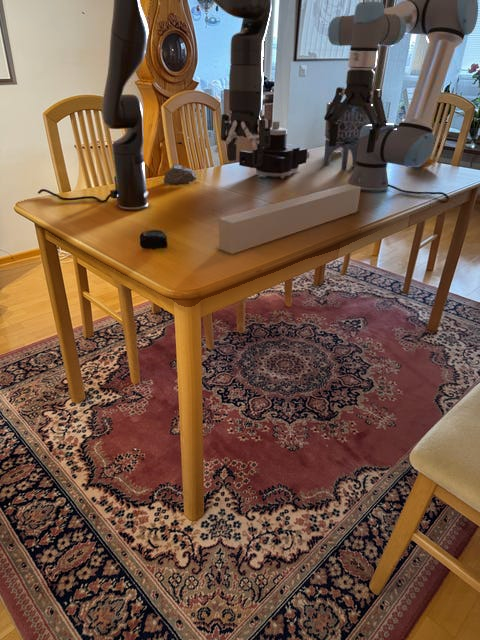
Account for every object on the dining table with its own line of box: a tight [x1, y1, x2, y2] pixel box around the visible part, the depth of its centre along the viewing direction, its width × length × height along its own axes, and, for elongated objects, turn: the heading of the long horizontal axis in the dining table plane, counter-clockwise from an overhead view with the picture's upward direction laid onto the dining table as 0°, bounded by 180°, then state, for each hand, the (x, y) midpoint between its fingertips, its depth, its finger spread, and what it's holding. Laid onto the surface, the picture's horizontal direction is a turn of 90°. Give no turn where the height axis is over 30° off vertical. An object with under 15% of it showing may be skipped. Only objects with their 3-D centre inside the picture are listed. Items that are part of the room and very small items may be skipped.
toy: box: [418, 157, 435, 169], centre depth 214 cm, size 11×6×15 cm
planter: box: [323, 101, 374, 172], centre depth 204 cm, size 20×20×26 cm
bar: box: [218, 183, 361, 255], centre depth 132 cm, size 56×5×8 cm, turn 134°
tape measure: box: [139, 229, 168, 250], centre depth 117 cm, size 7×7×4 cm
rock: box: [163, 163, 198, 186], centre depth 176 cm, size 13×9×6 cm, turn 131°
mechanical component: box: [238, 120, 311, 179], centre depth 191 cm, size 22×21×30 cm
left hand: (244, 163), depth 109 cm, fingers open, 8 cm apart
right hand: (350, 149), depth 138 cm, fingers open, 13 cm apart
